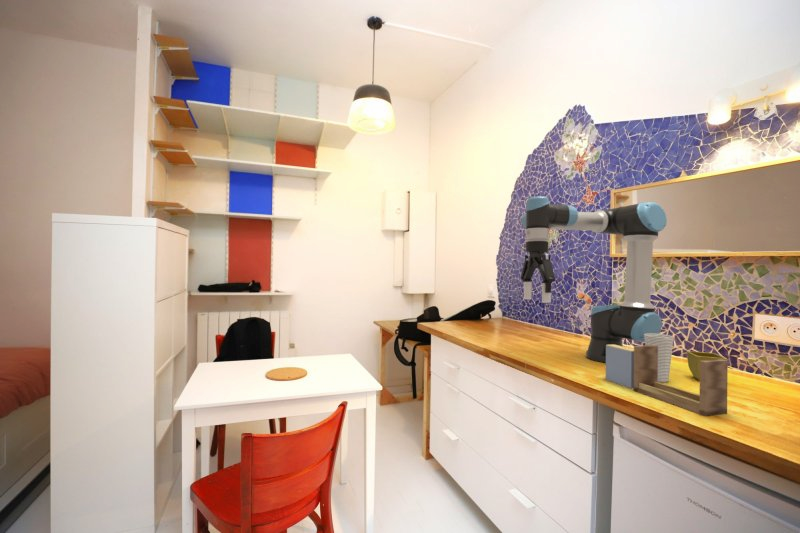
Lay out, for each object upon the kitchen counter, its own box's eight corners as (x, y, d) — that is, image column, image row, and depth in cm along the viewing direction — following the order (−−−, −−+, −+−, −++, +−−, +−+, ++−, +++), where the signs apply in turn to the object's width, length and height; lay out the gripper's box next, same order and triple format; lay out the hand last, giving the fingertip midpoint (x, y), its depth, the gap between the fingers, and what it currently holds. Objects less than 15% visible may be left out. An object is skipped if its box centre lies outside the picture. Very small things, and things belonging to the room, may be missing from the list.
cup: (638, 376, 133) (638, 332, 133) (662, 376, 133) (662, 333, 133) (653, 383, 125) (654, 337, 125) (679, 384, 124) (679, 337, 124)
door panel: (613, 378, 129) (614, 344, 129) (639, 387, 120) (639, 350, 120) (605, 379, 128) (605, 344, 128) (631, 388, 119) (631, 351, 119)
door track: (652, 388, 119) (653, 344, 119) (727, 413, 99) (727, 360, 99) (633, 390, 117) (634, 346, 117) (705, 416, 96) (706, 362, 97)
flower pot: (715, 378, 132) (715, 352, 132) (727, 385, 124) (727, 358, 124) (685, 375, 135) (685, 350, 135) (695, 382, 127) (696, 355, 127)
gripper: (512, 243, 143) (511, 298, 143) (545, 237, 118) (544, 304, 118) (530, 243, 144) (529, 298, 144) (567, 238, 119) (566, 304, 119)
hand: (536, 301), depth 131 cm, fingers open, 13 cm apart
